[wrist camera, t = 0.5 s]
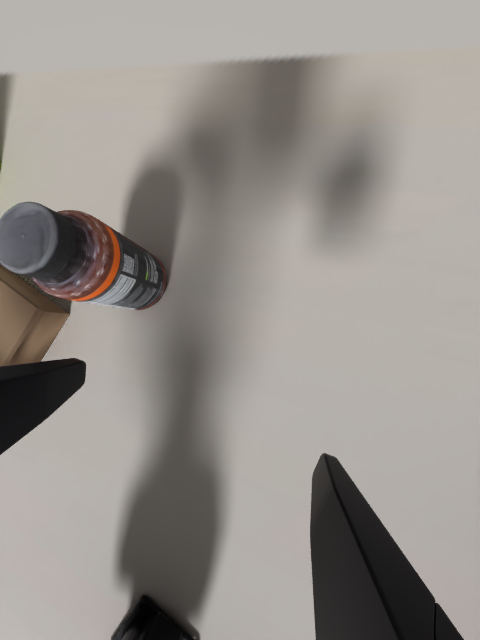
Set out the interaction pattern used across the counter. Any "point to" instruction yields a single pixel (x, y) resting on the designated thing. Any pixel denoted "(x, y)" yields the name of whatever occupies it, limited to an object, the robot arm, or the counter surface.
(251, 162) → the counter surface
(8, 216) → the supplement bottle
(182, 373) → the counter surface
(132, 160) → the counter surface
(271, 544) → the counter surface
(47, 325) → the walnut stand
